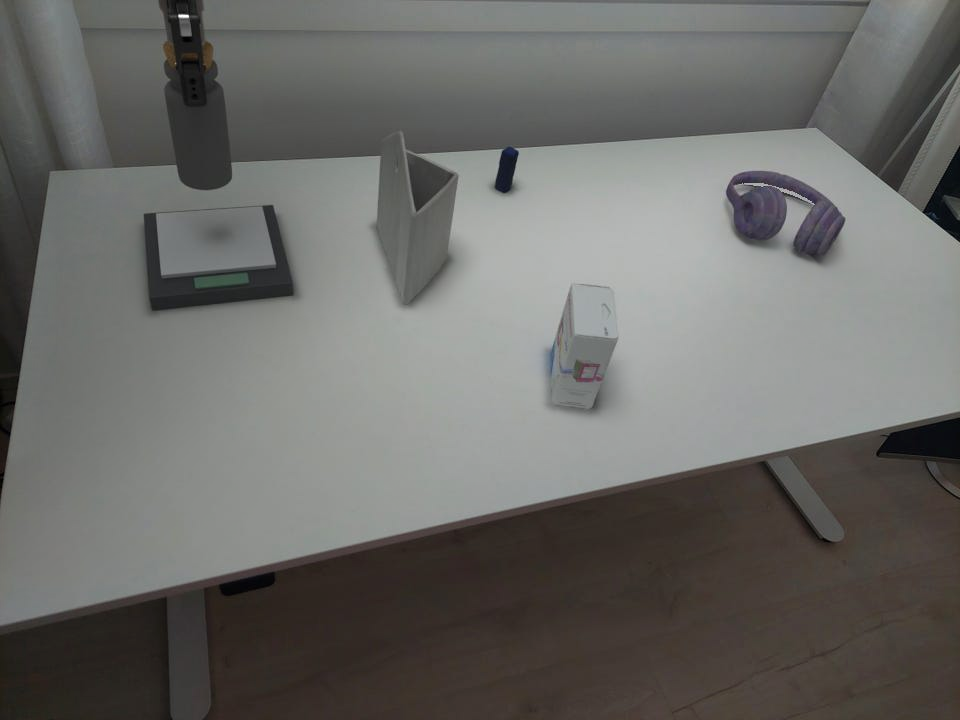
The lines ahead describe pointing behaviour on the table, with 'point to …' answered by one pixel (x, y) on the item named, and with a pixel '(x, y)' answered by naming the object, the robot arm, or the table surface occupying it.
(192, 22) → the robot arm
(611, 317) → the ink box
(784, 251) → the table surface
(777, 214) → the headphones
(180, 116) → the bottle
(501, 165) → the eraser
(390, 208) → the planter
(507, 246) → the table surface
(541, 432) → the table surface
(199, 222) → the scale
